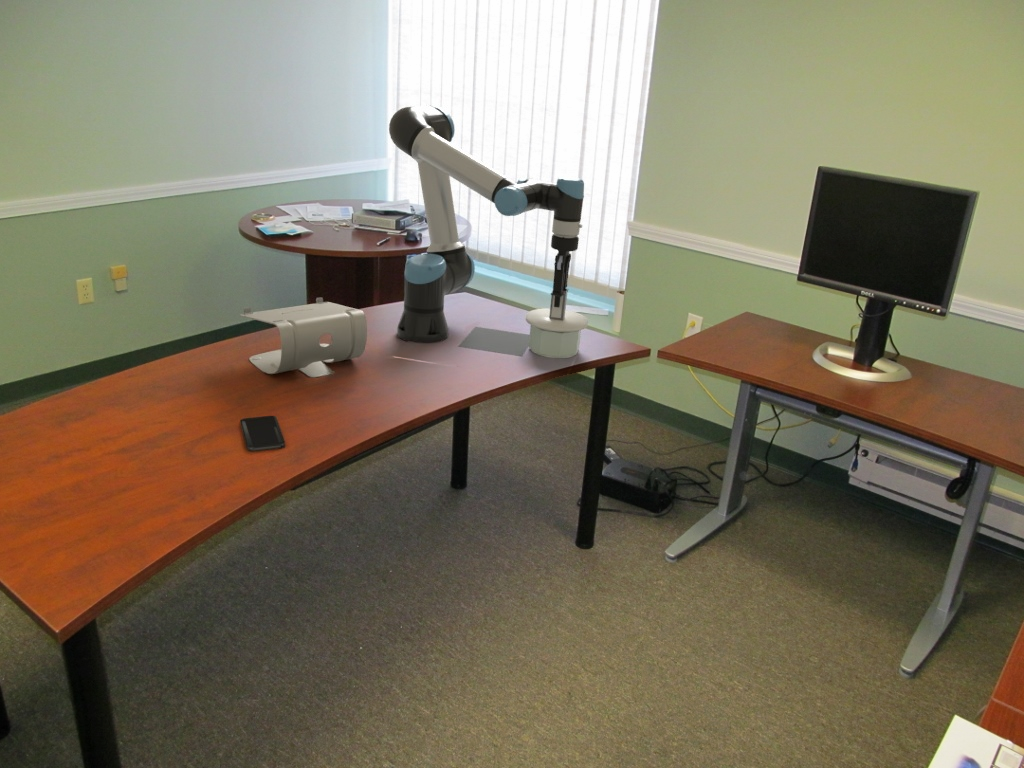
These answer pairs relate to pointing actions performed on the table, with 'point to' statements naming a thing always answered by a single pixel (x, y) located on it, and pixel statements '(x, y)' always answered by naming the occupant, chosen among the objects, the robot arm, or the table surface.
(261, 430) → the phone
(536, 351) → the bowl
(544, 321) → the lid
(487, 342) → the mat
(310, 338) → the portable electronic device stand
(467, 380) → the table surface
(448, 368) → the table surface
